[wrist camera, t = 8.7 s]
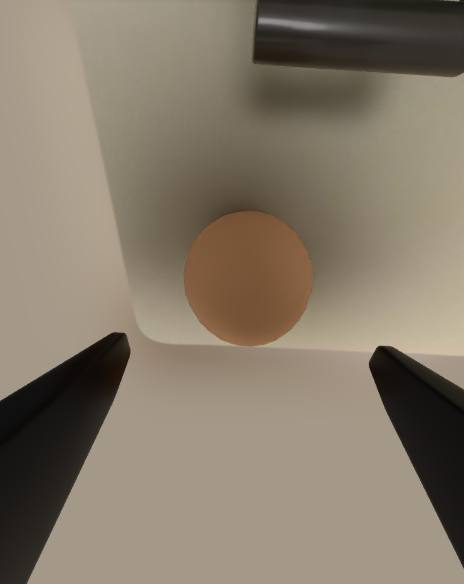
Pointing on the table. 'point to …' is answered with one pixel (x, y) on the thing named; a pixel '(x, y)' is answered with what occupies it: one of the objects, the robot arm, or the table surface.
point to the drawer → (361, 35)
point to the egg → (248, 278)
